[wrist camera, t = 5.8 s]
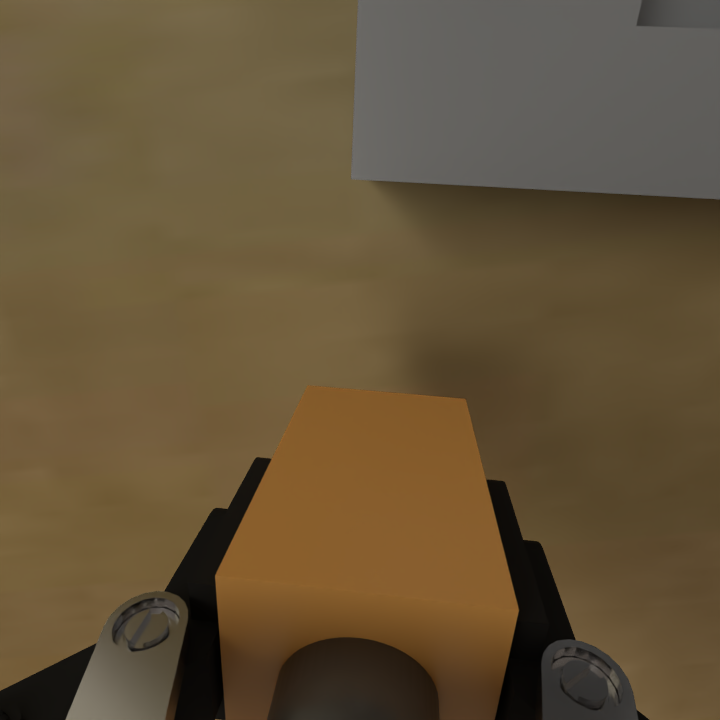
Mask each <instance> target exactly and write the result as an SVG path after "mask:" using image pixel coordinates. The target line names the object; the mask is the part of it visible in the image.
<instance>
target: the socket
mask: <svg viewBox="0 0 720 720" xmlns="http://www.w3.org/2000/svg"><path fill="white" fill-rule="evenodd" d="M351 179H357V180H375V181H393V182H412V183H430V184H448V185H466V186H485V187H503V188H521V189H540V190H558V191H576V192H595V193H613V194H631V195H649V196H668V197H686V198H704V199H720V0H358V17H357V42H356V68H355V93H354V119H353V145H352V170H351Z"/></svg>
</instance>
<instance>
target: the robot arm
mask: <svg viewBox="0 0 720 720" xmlns="http://www.w3.org/2000/svg"><path fill="white" fill-rule="evenodd" d="M271 460H272V459H269V458H258V457H257V458H256V459H255V460H254V462H253V464H252V465H251V467H250V469H249V471H248V473H247V475H246V476H245V478H244V480H243V482H242V484H241V486H240V487H239V489H238V491H237V493H236V495H235V497H234V498H233V500H232V502H231V504H230V506H229V508H228V509H222V508H215V509H213V511H212V512H211V513H210V515H209V516H208V518H207V520H206V522H205V523H204V525H203V527H202V528H201V530H200V532H199V533H198V535H197V537H196V538H195V540H194V542H193V544H192V545H191V547H190V549H189V550H188V552H187V554H186V555H185V557H184V559H183V560H182V562H181V564H180V566H179V567H178V569H177V571H176V572H175V574H174V576H173V577H172V579H171V581H170V583H169V584H168V586H167V588H166V589H165V591H164V592H161V591H155V592H149V593H144V594H141V595H139V596H136V597H134V598H131V599H130V600H128V601H127V602H125V603H124V604H122V605H121V606H119V607H118V608H117V609H116V610H115V611H114V612H113V613H112V614H111V615H110V617H109V619H108V620H107V622H106V624H105V625H104V627H103V630H102V632H101V635H100V637H99V639H98V642H97V643H96V644H94V645H92V646H90V647H88V648H86V649H84V650H82V651H80V652H78V653H76V654H74V655H72V656H70V657H68V658H66V659H64V660H62V661H60V662H58V663H56V664H54V665H52V666H50V667H48V668H46V669H44V670H42V671H40V672H38V673H36V674H34V675H32V676H29V677H27V678H25V679H23V680H21V681H19V682H17V683H15V684H13V685H11V686H9V687H7V688H5V689H3V690H1V691H0V720H215V719H221V720H226V718H225V704H224V690H223V677H222V663H221V650H220V636H219V622H218V609H217V595H216V581H215V575H216V573H217V571H218V569H219V567H220V564H221V562H222V560H223V558H224V556H225V554H226V552H227V550H228V548H229V546H230V544H231V542H232V540H233V538H234V536H235V534H236V532H237V529H238V527H239V525H240V523H241V521H242V519H243V517H244V515H245V513H246V511H247V509H248V507H249V505H250V503H251V501H252V499H253V497H254V495H255V492H256V490H257V488H258V486H259V484H260V482H261V480H262V478H263V476H264V474H265V472H266V470H267V468H268V466H269V464H270V462H271ZM486 482H487V486H488V490H489V494H490V498H491V502H492V505H493V509H494V513H495V517H496V521H497V525H498V529H499V533H500V537H501V541H502V545H503V549H504V553H505V557H506V561H507V565H508V569H509V573H510V577H511V581H512V585H513V589H514V593H515V597H516V600H517V604H518V608H519V612H518V617H517V621H516V626H515V630H514V635H513V639H512V644H511V648H510V653H509V657H508V662H507V666H506V671H505V675H504V680H503V685H502V689H501V694H500V698H499V703H498V707H497V712H496V716H495V720H649V719H648V718H646V717H645V716H644V715H643V714H641V713H640V712H639V711H637V710H636V705H635V700H634V695H633V691H632V688H631V685H630V683H629V680H628V678H627V677H626V675H625V674H624V672H623V671H622V669H621V668H620V666H619V665H618V664H617V663H616V662H615V661H613V660H612V659H611V658H610V657H609V656H608V655H607V654H605V653H604V652H602V651H601V650H599V649H598V648H596V647H594V646H592V645H589V644H587V643H584V642H582V641H576V640H575V637H574V634H573V631H572V629H571V626H570V623H569V620H568V617H567V615H566V612H565V609H564V606H563V603H562V601H561V598H560V595H559V592H558V589H557V587H556V584H555V581H554V578H553V575H552V573H551V570H550V567H549V564H548V562H547V559H546V556H545V553H544V550H543V548H542V546H541V544H540V543H539V542H537V541H528V540H523V538H522V535H521V532H520V528H519V525H518V522H517V519H516V516H515V512H514V509H513V506H512V503H511V500H510V496H509V493H508V490H507V487H506V484H505V482H504V481H496V480H486Z"/></svg>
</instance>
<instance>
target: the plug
mask: <svg viewBox="0 0 720 720" xmlns="http://www.w3.org/2000/svg"><path fill="white" fill-rule="evenodd" d="M215 581H216V595H217V609H218V622H219V636H220V650H221V663H222V677H223V690H224V704H225V718H226V720H495V716H496V712H497V707H498V703H499V698H500V694H501V689H502V685H503V680H504V675H505V671H506V666H507V662H508V657H509V653H510V648H511V644H512V639H513V635H514V630H515V626H516V621H517V617H518V612H519V608H518V604H517V600H516V597H515V593H514V589H513V585H512V581H511V577H510V573H509V569H508V565H507V561H506V557H505V553H504V549H503V545H502V541H501V537H500V533H499V529H498V525H497V521H496V517H495V513H494V509H493V505H492V502H491V498H490V494H489V490H488V486H487V482H486V478H485V474H484V470H483V466H482V462H481V458H480V454H479V450H478V446H477V442H476V438H475V434H474V430H473V426H472V422H471V418H470V414H469V410H468V407H467V403H466V399H463V398H451V397H439V396H427V395H415V394H403V393H392V392H380V391H368V390H356V389H344V388H333V387H321V386H309V385H307V388H306V390H305V392H304V394H303V396H302V398H301V400H300V402H299V404H298V406H297V408H296V410H295V412H294V414H293V416H292V418H291V420H290V423H289V425H288V427H287V429H286V431H285V433H284V435H283V437H282V439H281V441H280V443H279V445H278V447H277V449H276V451H275V453H274V455H273V457H272V460H271V462H270V464H269V466H268V468H267V470H266V472H265V474H264V476H263V478H262V480H261V482H260V484H259V486H258V488H257V490H256V492H255V495H254V497H253V499H252V501H251V503H250V505H249V507H248V509H247V511H246V513H245V515H244V517H243V519H242V521H241V523H240V525H239V527H238V529H237V532H236V534H235V536H234V538H233V540H232V542H231V544H230V546H229V548H228V550H227V552H226V554H225V556H224V558H223V560H222V562H221V564H220V567H219V569H218V571H217V573H216V575H215Z"/></svg>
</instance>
